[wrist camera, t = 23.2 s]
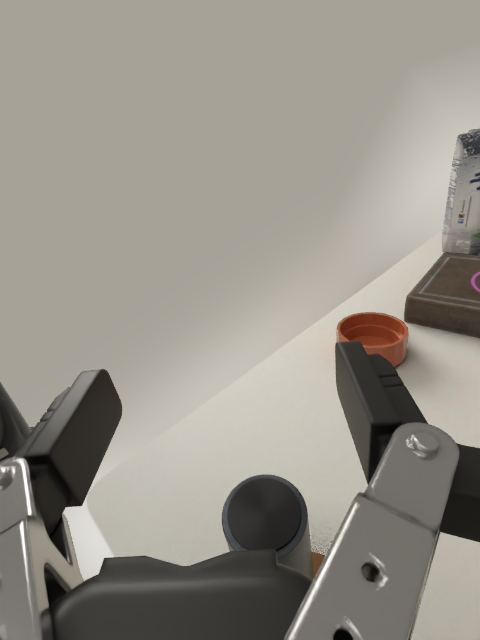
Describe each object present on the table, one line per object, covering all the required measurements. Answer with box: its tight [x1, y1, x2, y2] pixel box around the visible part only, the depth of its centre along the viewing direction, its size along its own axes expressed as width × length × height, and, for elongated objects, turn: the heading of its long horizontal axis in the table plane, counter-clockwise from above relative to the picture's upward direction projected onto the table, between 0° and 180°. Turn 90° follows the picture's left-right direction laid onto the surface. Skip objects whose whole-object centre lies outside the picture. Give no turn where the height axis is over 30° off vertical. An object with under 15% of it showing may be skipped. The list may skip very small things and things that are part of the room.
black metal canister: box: [222, 475, 314, 580], centre depth 24 cm, size 6×6×11 cm
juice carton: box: [442, 129, 480, 255], centre depth 76 cm, size 9×10×27 cm
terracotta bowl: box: [337, 312, 408, 367], centre depth 52 cm, size 10×10×4 cm
